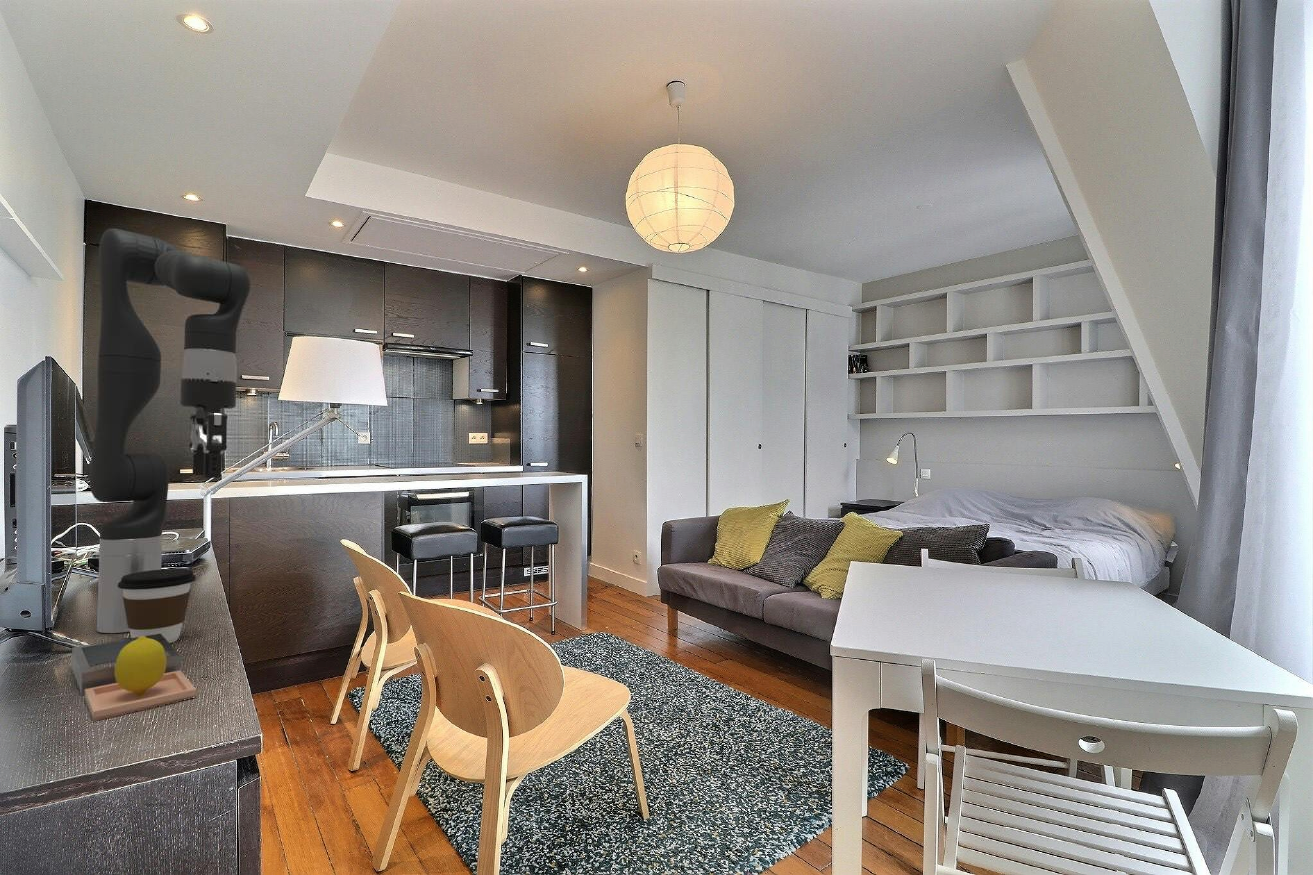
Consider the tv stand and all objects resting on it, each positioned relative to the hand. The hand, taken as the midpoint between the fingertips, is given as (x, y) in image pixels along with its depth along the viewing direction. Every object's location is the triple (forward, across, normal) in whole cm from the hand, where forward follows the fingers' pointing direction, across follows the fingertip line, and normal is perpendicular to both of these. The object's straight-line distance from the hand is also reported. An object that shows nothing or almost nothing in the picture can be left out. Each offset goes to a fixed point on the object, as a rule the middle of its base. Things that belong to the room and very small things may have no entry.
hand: (206, 476), depth 104 cm
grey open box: (+30, 0, -10) cm, 31 cm away
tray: (+30, +15, -10) cm, 35 cm away
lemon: (+29, +15, -10) cm, 34 cm away
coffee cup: (+30, -15, -4) cm, 34 cm away
